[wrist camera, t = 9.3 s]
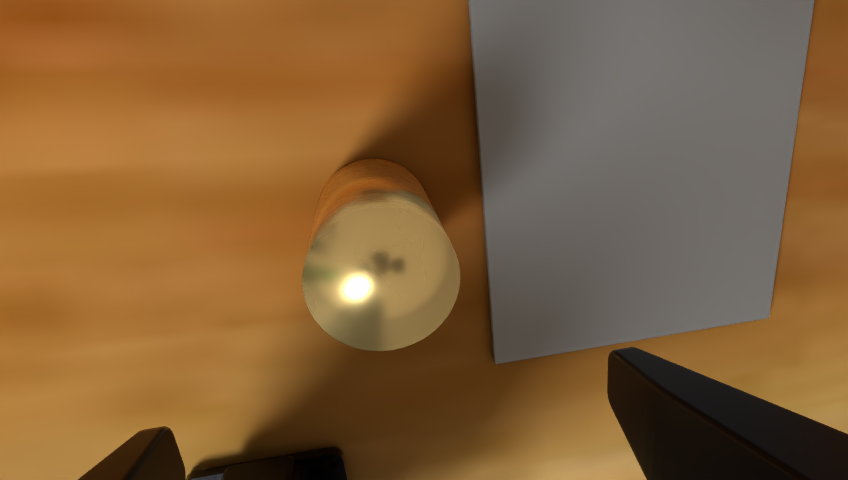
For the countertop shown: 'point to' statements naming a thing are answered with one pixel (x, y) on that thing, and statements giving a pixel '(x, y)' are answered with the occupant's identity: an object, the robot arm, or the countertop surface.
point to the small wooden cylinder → (378, 259)
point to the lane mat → (632, 164)
